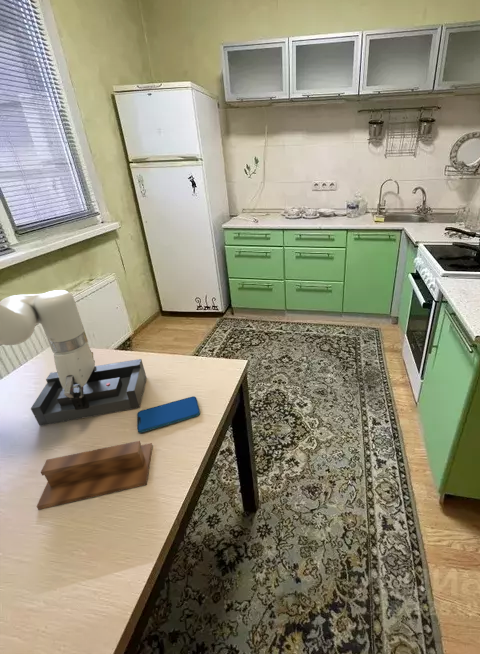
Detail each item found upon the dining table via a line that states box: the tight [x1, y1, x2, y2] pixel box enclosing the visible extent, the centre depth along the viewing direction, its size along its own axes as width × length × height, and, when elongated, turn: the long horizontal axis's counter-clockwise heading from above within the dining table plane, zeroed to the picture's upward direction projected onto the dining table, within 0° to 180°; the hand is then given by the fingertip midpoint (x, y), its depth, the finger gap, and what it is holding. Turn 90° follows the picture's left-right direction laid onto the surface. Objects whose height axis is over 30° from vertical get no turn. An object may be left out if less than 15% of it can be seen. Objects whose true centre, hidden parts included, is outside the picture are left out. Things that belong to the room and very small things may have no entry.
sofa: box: [30, 358, 147, 427], centre depth 89 cm, size 24×13×7 cm, turn 104°
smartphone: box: [136, 395, 201, 434], centre depth 84 cm, size 7×1×15 cm
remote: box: [57, 377, 122, 406], centre depth 86 cm, size 14×5×3 cm, turn 104°
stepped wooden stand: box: [36, 440, 153, 511], centre depth 68 cm, size 20×10×6 cm, turn 104°
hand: (88, 395), depth 86 cm, fingers open, 8 cm apart
